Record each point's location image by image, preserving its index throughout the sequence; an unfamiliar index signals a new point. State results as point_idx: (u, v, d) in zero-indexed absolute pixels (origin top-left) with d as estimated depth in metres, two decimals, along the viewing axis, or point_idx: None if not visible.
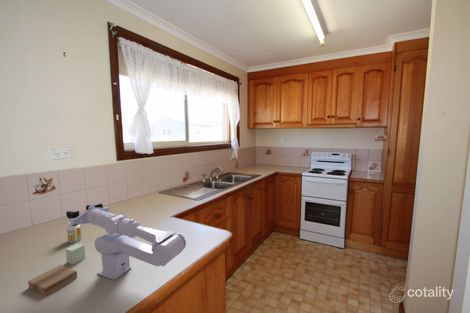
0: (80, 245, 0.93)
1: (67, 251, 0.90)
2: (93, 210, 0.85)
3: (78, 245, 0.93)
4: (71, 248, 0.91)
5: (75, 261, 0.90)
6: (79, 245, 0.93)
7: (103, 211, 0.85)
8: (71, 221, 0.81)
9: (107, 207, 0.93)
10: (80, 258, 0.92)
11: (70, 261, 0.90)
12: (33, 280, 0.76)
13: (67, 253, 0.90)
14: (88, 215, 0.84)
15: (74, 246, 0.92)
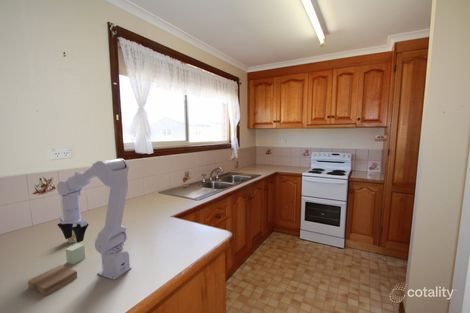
0: (80, 245, 0.93)
1: (67, 251, 0.90)
2: (65, 217, 0.88)
3: (78, 245, 0.93)
4: (71, 248, 0.91)
5: (75, 261, 0.90)
6: (79, 245, 0.93)
7: None
8: (83, 223, 0.88)
9: (59, 218, 0.92)
10: (80, 258, 0.92)
11: (70, 261, 0.90)
12: (33, 280, 0.76)
13: (67, 253, 0.90)
14: (72, 217, 0.88)
15: (74, 246, 0.92)
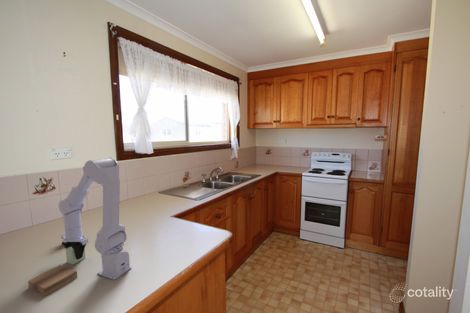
0: None
1: (67, 251, 0.90)
2: (67, 235, 0.89)
3: None
4: (71, 248, 0.91)
5: (75, 261, 0.90)
6: None
7: None
8: (85, 241, 0.89)
9: (61, 235, 0.93)
10: (80, 258, 0.92)
11: (70, 261, 0.90)
12: (33, 280, 0.76)
13: (67, 253, 0.90)
14: (74, 235, 0.89)
15: None
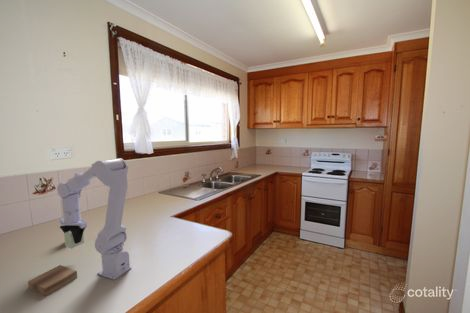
0: None
1: (65, 235, 0.89)
2: (66, 219, 0.88)
3: None
4: (70, 232, 0.90)
5: (74, 245, 0.90)
6: None
7: None
8: (83, 225, 0.88)
9: None
10: (79, 242, 0.92)
11: (68, 245, 0.89)
12: (33, 280, 0.76)
13: (65, 237, 0.90)
14: (73, 219, 0.88)
15: None
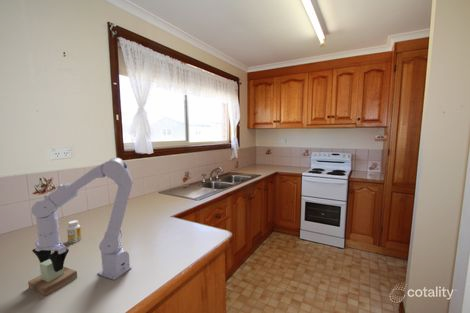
0: None
1: (41, 266, 0.76)
2: (41, 243, 0.74)
3: None
4: (47, 262, 0.77)
5: (51, 278, 0.76)
6: None
7: None
8: (62, 250, 0.74)
9: (35, 242, 0.79)
10: (57, 274, 0.78)
11: (45, 278, 0.76)
12: (33, 280, 0.76)
13: (41, 268, 0.76)
14: (49, 243, 0.75)
15: (50, 260, 0.78)
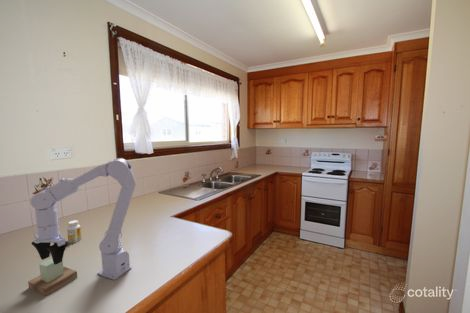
0: None
1: (41, 266, 0.76)
2: (40, 235, 0.74)
3: None
4: (46, 262, 0.77)
5: (50, 278, 0.76)
6: None
7: None
8: (61, 242, 0.74)
9: (34, 235, 0.79)
10: (57, 274, 0.78)
11: (44, 278, 0.76)
12: (33, 280, 0.76)
13: (40, 268, 0.76)
14: (48, 235, 0.75)
15: (50, 260, 0.78)
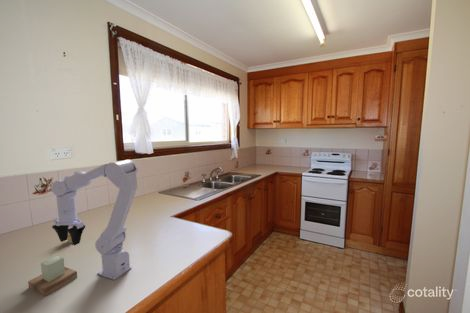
0: (59, 258, 0.79)
1: (42, 265, 0.76)
2: (61, 219, 0.83)
3: (57, 258, 0.79)
4: (48, 262, 0.77)
5: (52, 277, 0.76)
6: (58, 258, 0.79)
7: None
8: (80, 225, 0.83)
9: (54, 219, 0.88)
10: (58, 274, 0.78)
11: (46, 277, 0.76)
12: (33, 280, 0.76)
13: (42, 267, 0.76)
14: (68, 218, 0.84)
15: (51, 259, 0.78)
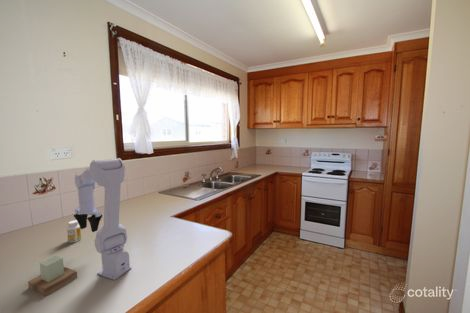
0: (58, 258, 0.79)
1: (41, 266, 0.76)
2: (81, 208, 0.94)
3: (56, 258, 0.79)
4: (47, 262, 0.77)
5: (51, 278, 0.76)
6: (57, 258, 0.79)
7: None
8: (98, 214, 0.94)
9: (75, 209, 0.99)
10: (57, 274, 0.78)
11: (45, 278, 0.76)
12: (33, 280, 0.76)
13: (41, 268, 0.76)
14: (88, 208, 0.95)
15: (50, 260, 0.78)
